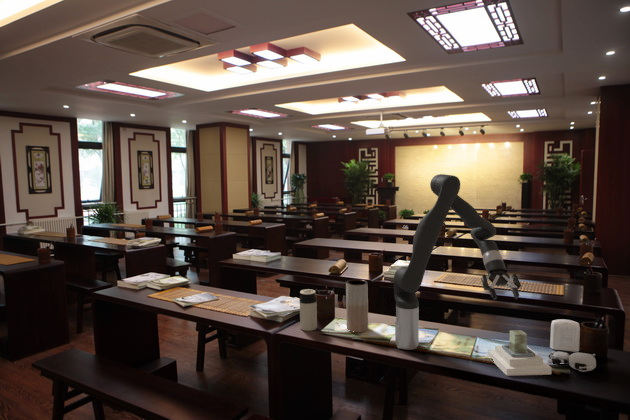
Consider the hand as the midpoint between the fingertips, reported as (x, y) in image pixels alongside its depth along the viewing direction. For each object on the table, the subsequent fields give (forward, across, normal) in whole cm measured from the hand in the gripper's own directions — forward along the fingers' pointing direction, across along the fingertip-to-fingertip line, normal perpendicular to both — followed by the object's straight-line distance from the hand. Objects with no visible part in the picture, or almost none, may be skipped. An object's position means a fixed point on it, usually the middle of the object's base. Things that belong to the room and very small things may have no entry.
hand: (506, 298), depth 164 cm
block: (+19, 0, +6) cm, 20 cm away
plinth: (+23, 0, +9) cm, 25 cm away
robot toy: (+25, +19, +8) cm, 32 cm away
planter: (-5, -56, +37) cm, 67 cm away
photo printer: (+15, +25, +18) cm, 34 cm away
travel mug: (-7, -79, +39) cm, 89 cm away
